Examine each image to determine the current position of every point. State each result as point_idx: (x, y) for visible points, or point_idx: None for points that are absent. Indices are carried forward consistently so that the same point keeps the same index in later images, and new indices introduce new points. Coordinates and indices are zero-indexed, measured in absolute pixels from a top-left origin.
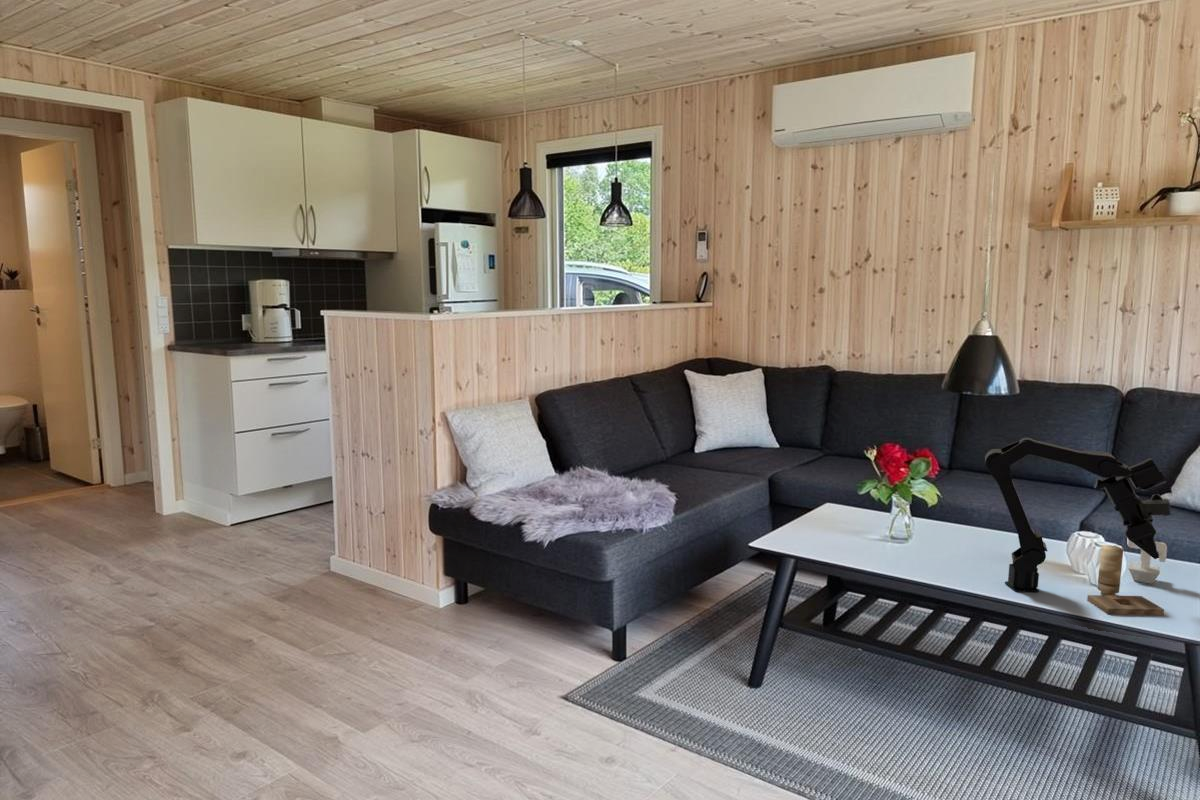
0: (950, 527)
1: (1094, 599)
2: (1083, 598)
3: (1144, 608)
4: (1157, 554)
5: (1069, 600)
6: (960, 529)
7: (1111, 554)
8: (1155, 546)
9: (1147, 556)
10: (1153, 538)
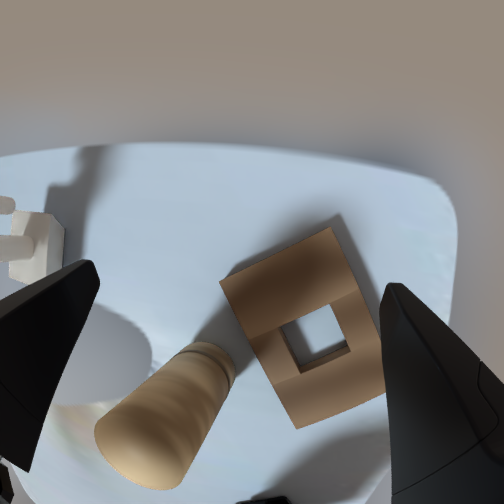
0: (27, 484)
1: (329, 416)
2: (280, 426)
3: (352, 287)
4: (421, 304)
5: (315, 452)
6: (24, 477)
7: (190, 460)
8: (455, 354)
9: (5, 245)
10: (37, 294)
